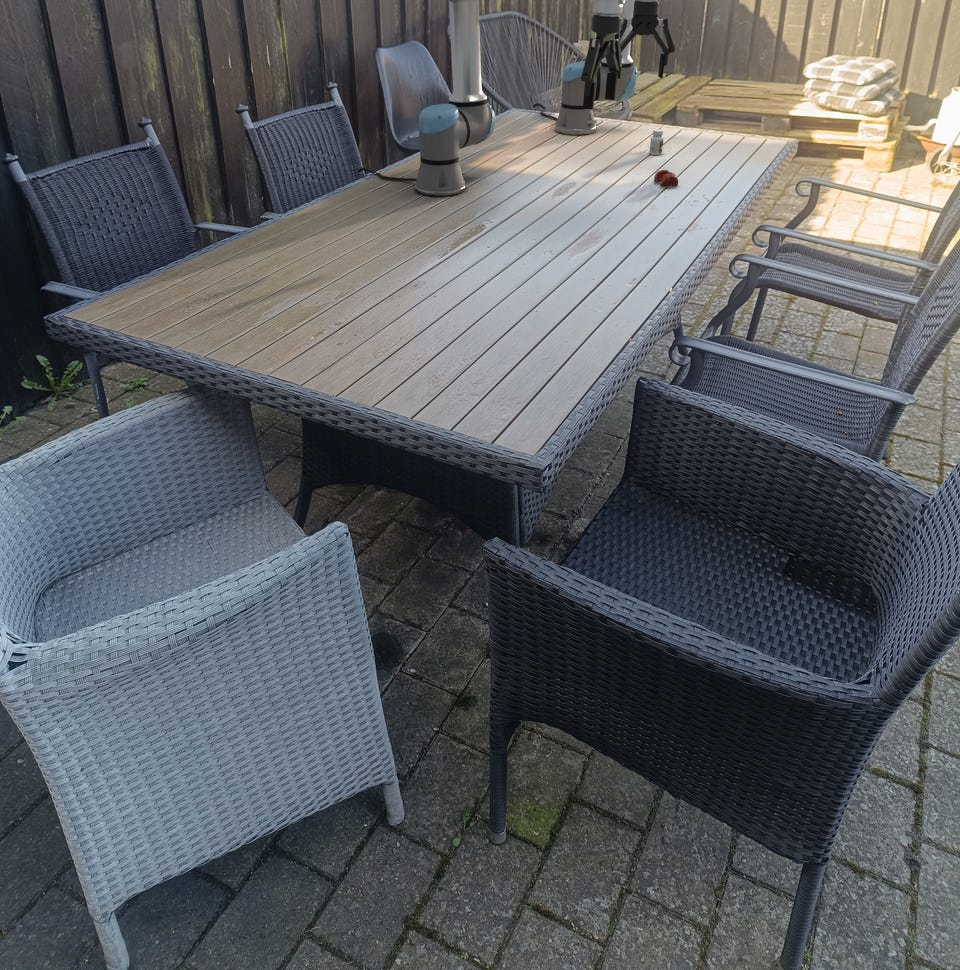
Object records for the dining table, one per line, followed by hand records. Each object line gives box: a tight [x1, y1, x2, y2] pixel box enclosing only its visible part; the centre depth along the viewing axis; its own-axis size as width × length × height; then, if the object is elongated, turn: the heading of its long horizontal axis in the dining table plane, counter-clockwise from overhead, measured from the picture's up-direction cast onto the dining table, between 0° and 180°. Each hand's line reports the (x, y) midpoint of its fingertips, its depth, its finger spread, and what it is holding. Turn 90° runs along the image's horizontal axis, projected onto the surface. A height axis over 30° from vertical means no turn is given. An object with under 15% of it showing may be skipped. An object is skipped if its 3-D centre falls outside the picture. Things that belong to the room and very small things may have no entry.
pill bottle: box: [648, 128, 665, 156], centre depth 290 cm, size 4×4×8 cm
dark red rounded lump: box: [653, 169, 679, 188], centre depth 261 cm, size 6×4×8 cm
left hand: (599, 104), depth 226 cm, fingers open, 13 cm apart
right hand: (639, 77), depth 265 cm, fingers open, 13 cm apart
